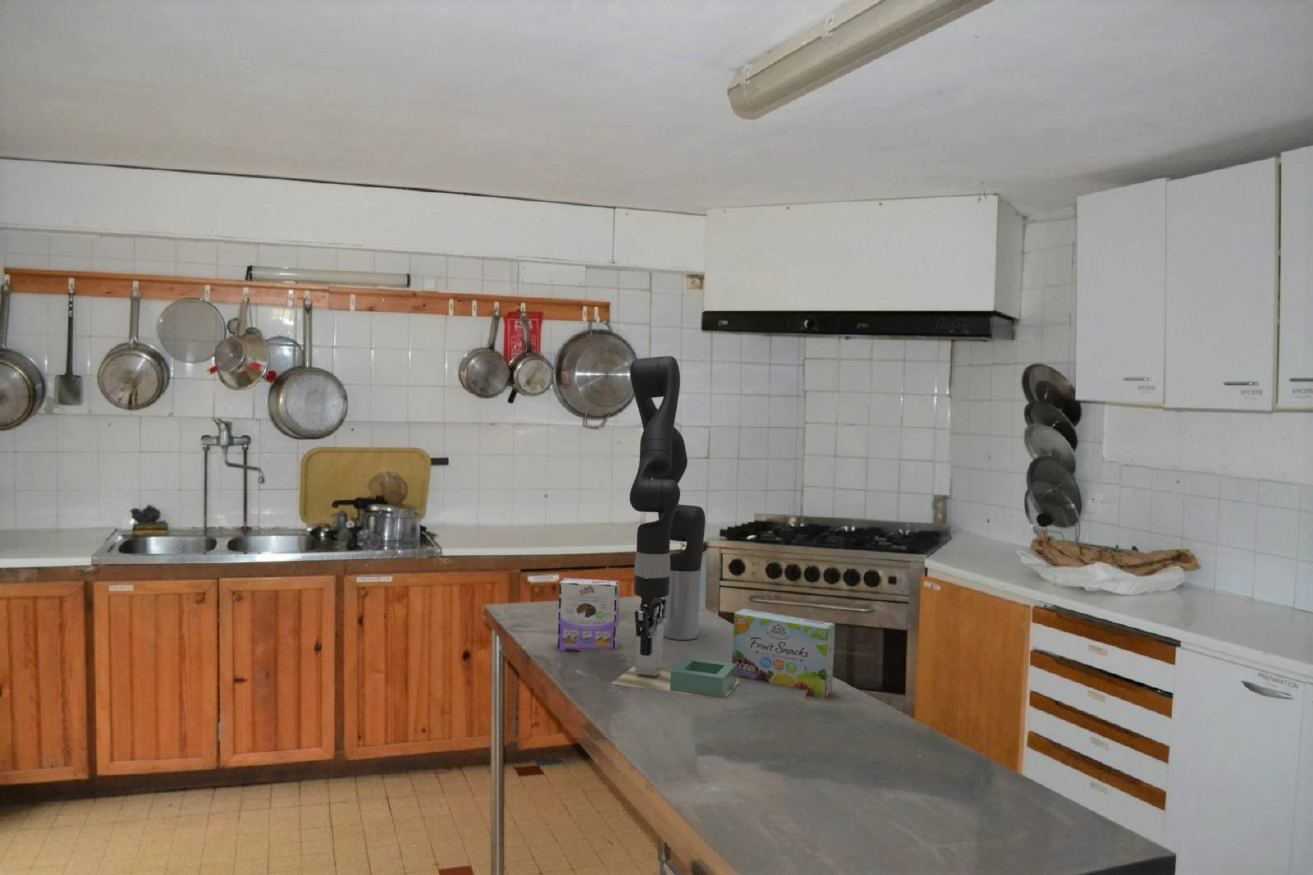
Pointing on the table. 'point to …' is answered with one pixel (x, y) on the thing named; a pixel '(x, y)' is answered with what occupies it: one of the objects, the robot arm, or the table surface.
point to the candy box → (588, 614)
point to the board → (656, 682)
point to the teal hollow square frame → (703, 677)
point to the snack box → (784, 650)
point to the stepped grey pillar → (654, 660)
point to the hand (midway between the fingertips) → (649, 651)
